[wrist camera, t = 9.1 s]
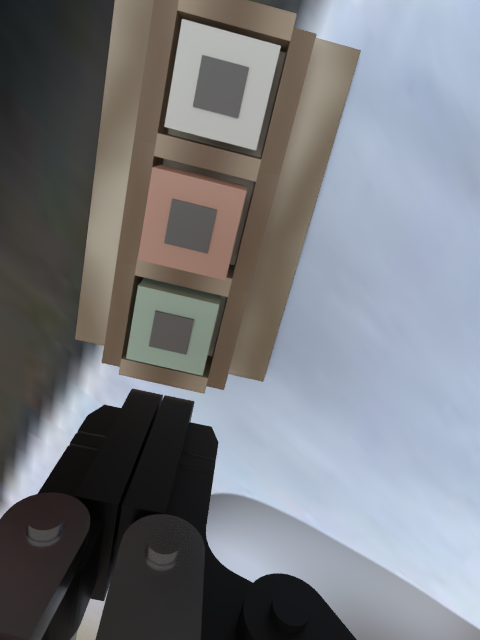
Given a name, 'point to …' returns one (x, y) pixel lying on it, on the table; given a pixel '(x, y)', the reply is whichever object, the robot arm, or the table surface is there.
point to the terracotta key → (191, 221)
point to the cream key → (220, 84)
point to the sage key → (172, 326)
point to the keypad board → (213, 161)
